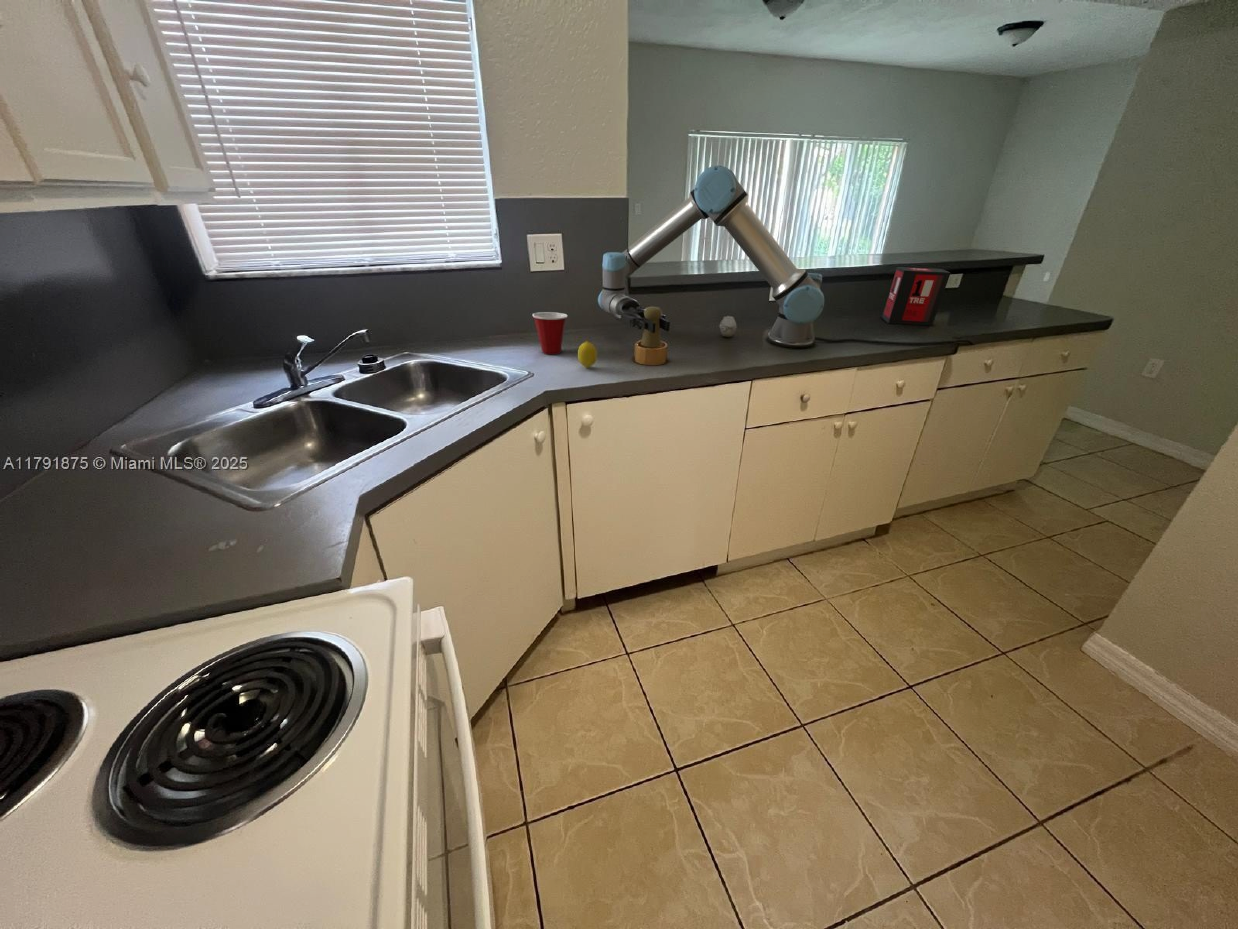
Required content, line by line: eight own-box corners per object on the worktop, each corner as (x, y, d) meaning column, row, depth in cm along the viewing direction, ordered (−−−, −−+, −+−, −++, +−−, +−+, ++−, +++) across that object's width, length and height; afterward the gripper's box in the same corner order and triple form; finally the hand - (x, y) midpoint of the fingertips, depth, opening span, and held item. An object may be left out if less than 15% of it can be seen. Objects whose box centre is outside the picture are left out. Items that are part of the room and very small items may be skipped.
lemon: (582, 372, 140) (582, 345, 136) (575, 366, 144) (574, 339, 140) (600, 369, 142) (600, 342, 138) (592, 363, 146) (591, 337, 142)
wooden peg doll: (661, 341, 150) (663, 305, 145) (660, 347, 145) (663, 310, 140) (641, 340, 151) (643, 304, 145) (640, 346, 146) (642, 309, 140)
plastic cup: (574, 348, 159) (573, 311, 153) (560, 358, 150) (558, 319, 144) (544, 344, 162) (542, 308, 155) (528, 354, 153) (525, 315, 147)
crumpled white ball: (732, 333, 178) (735, 314, 174) (737, 339, 172) (740, 319, 168) (716, 333, 178) (718, 314, 174) (720, 339, 172) (723, 319, 168)
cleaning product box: (924, 320, 201) (941, 268, 191) (932, 325, 194) (950, 272, 183) (881, 317, 203) (896, 266, 193) (888, 323, 196) (904, 270, 186)
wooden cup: (667, 356, 154) (669, 340, 151) (664, 366, 146) (665, 350, 143) (637, 353, 155) (638, 338, 153) (632, 363, 147) (632, 347, 145)
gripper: (648, 318, 164) (685, 337, 146) (601, 323, 157) (634, 343, 139) (649, 295, 160) (687, 311, 142) (601, 299, 153) (635, 316, 135)
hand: (661, 327), depth 141 cm, fingers closed on wooden peg doll, 4 cm apart
